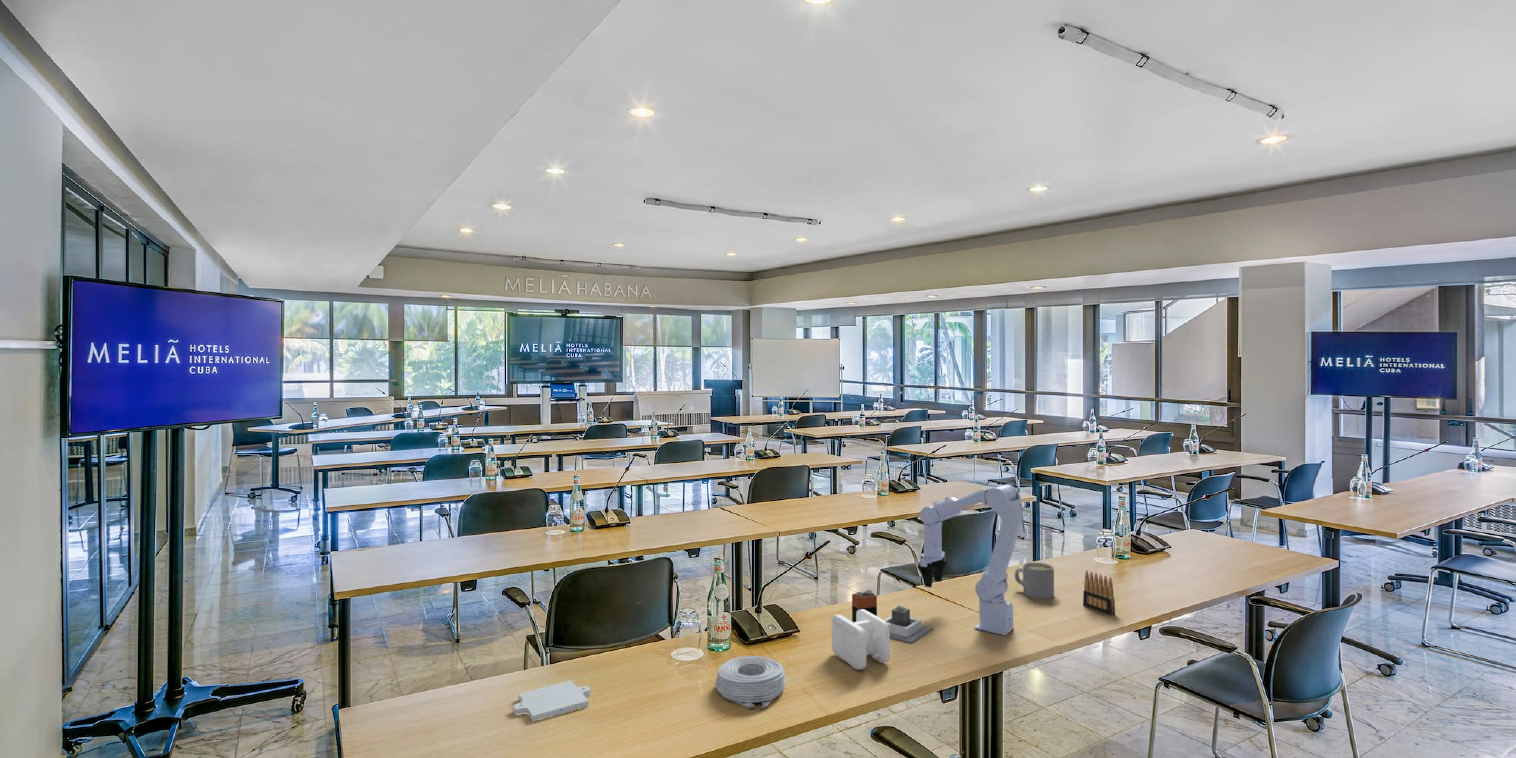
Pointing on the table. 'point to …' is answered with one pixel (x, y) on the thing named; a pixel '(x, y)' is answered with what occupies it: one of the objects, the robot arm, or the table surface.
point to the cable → (750, 680)
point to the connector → (901, 616)
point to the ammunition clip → (1098, 594)
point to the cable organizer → (861, 639)
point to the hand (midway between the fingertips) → (933, 583)
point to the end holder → (907, 630)
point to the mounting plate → (552, 700)
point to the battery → (864, 603)
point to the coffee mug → (1037, 580)
